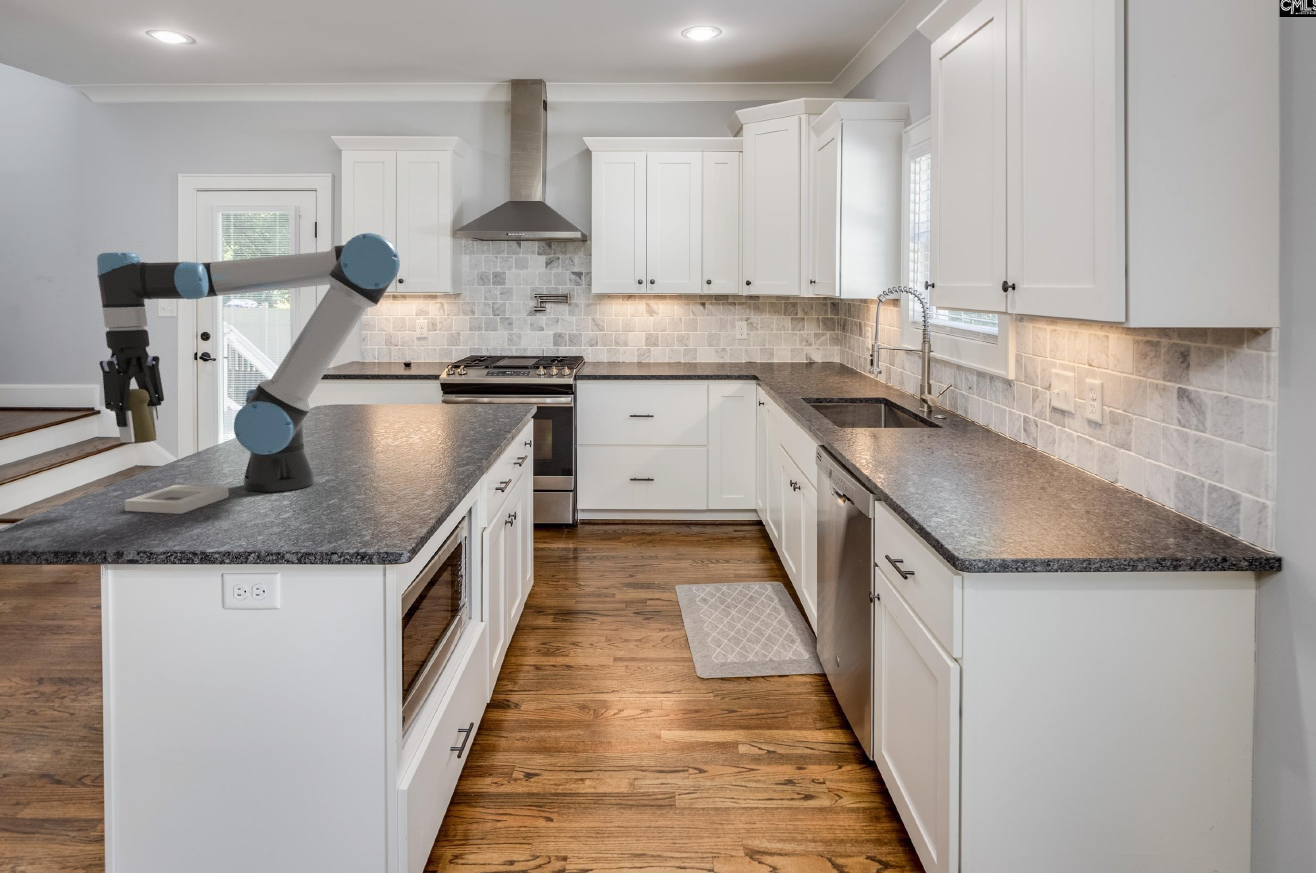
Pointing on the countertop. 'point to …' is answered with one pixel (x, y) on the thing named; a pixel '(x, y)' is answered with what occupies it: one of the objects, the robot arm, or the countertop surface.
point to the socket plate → (176, 499)
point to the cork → (140, 416)
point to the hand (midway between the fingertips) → (140, 439)
